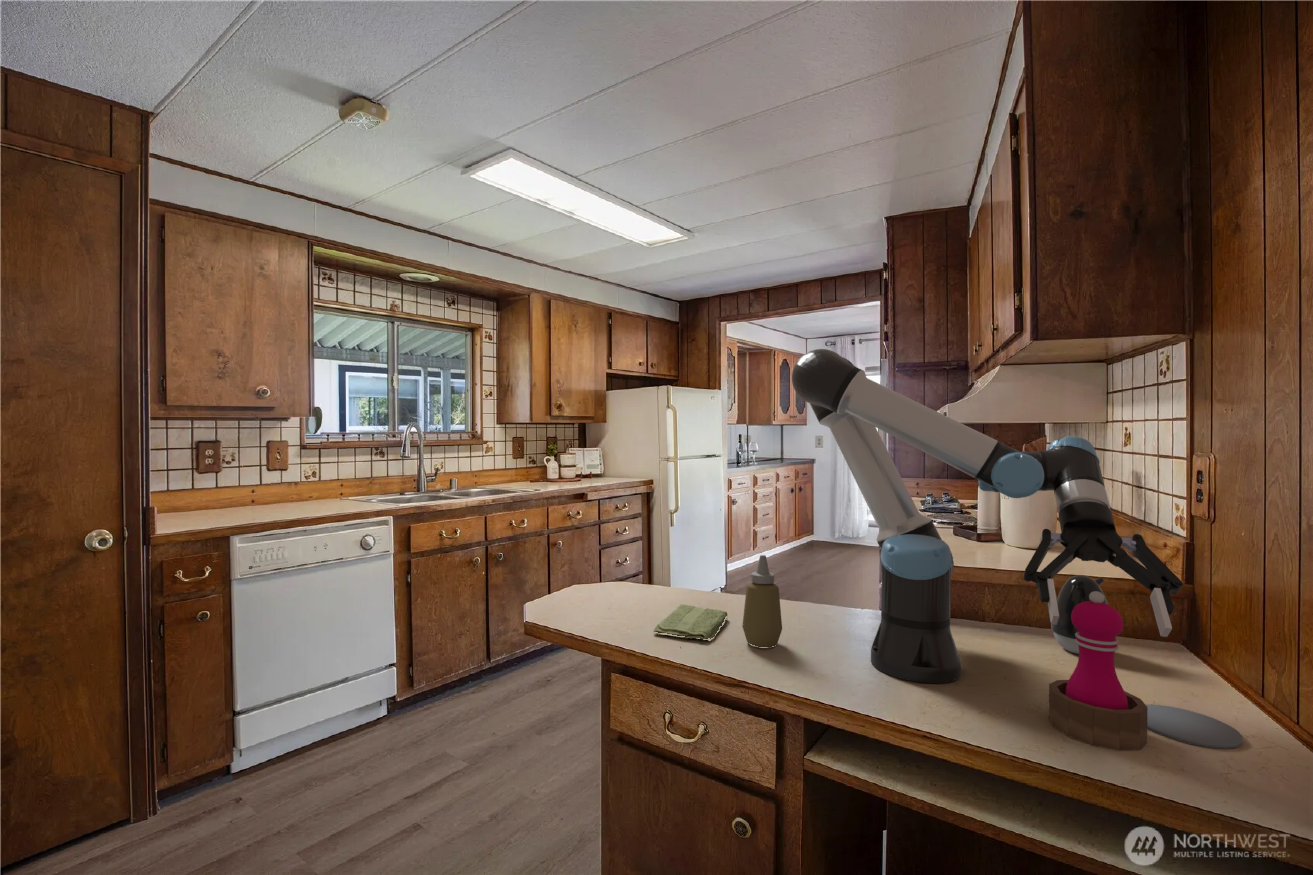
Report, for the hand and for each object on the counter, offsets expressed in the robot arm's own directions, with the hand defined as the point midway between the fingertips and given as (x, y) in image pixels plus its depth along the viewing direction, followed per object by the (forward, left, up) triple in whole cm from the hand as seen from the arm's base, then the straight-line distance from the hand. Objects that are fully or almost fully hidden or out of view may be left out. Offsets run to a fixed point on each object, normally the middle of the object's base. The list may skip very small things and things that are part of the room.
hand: (1108, 626), depth 88 cm
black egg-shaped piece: (-14, +30, -14) cm, 36 cm away
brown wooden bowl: (0, -6, -14) cm, 15 cm away
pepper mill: (0, -6, -14) cm, 15 cm away
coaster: (+7, +6, -14) cm, 17 cm away
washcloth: (-68, -25, -15) cm, 74 cm away
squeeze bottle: (-52, -21, -14) cm, 57 cm away
